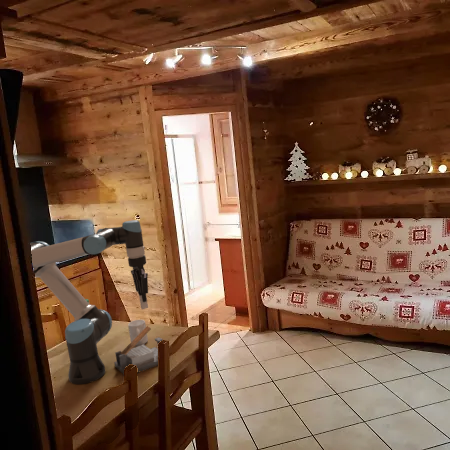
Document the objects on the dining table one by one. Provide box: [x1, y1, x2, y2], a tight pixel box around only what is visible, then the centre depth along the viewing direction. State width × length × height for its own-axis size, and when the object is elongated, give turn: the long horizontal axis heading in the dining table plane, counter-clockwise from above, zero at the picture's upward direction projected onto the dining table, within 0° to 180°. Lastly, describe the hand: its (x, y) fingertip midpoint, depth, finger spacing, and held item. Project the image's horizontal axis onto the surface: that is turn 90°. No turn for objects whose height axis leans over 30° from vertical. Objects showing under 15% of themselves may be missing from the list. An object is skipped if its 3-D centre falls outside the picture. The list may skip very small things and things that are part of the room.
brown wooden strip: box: [118, 325, 151, 357], centre depth 195 cm, size 18×3×1 cm
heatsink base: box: [113, 337, 164, 375], centre depth 197 cm, size 21×14×8 cm
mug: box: [127, 319, 149, 347], centre depth 218 cm, size 12×8×10 cm
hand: (144, 308), depth 197 cm, fingers closed
